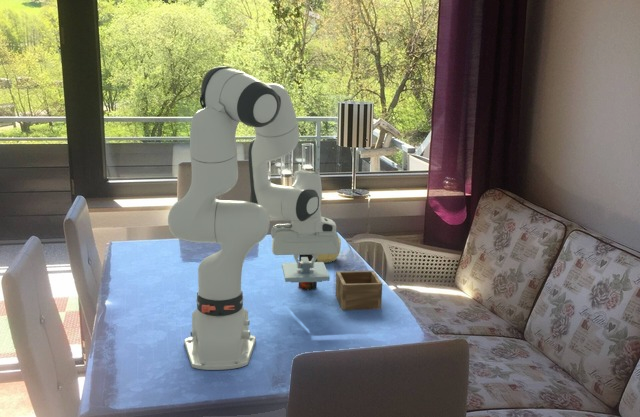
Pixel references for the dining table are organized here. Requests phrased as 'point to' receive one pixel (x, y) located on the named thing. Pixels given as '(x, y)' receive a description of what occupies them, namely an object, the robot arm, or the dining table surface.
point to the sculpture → (328, 256)
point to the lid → (305, 272)
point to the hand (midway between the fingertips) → (305, 267)
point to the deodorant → (307, 284)
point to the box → (358, 290)
